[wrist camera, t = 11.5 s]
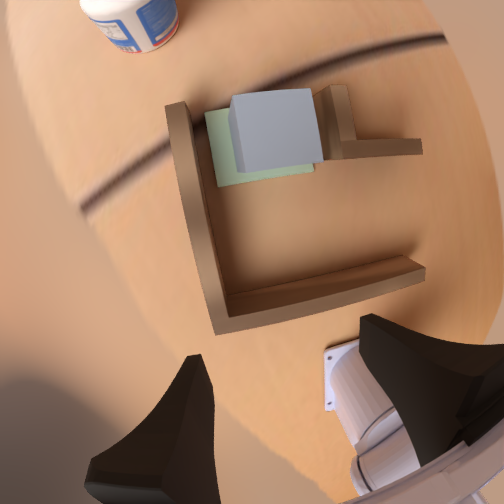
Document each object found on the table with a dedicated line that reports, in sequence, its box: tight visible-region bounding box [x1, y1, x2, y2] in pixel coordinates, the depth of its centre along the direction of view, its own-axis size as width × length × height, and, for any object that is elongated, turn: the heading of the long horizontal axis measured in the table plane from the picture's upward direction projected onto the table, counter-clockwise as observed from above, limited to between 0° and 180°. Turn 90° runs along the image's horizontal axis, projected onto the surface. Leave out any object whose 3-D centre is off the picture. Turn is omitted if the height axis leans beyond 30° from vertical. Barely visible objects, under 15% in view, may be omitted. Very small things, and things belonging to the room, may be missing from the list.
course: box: [165, 85, 425, 336], centre depth 18 cm, size 15×17×4 cm
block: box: [228, 88, 324, 173], centre depth 15 cm, size 4×4×6 cm
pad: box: [204, 108, 314, 188], centre depth 18 cm, size 6×7×1 cm
